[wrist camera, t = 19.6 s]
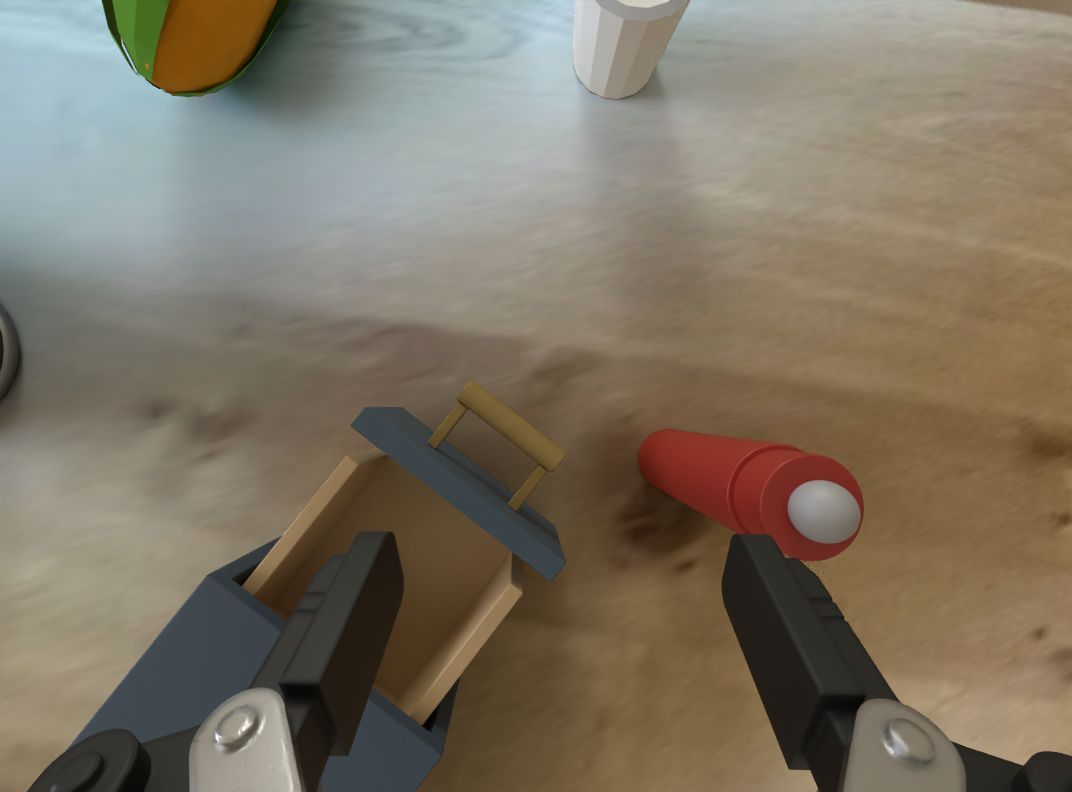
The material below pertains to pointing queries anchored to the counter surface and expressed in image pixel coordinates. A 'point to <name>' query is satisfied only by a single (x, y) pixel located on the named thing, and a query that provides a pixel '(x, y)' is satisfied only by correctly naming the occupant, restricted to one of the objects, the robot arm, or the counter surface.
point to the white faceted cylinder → (621, 42)
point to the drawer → (425, 541)
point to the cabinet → (229, 668)
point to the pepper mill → (759, 489)
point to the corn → (192, 39)
